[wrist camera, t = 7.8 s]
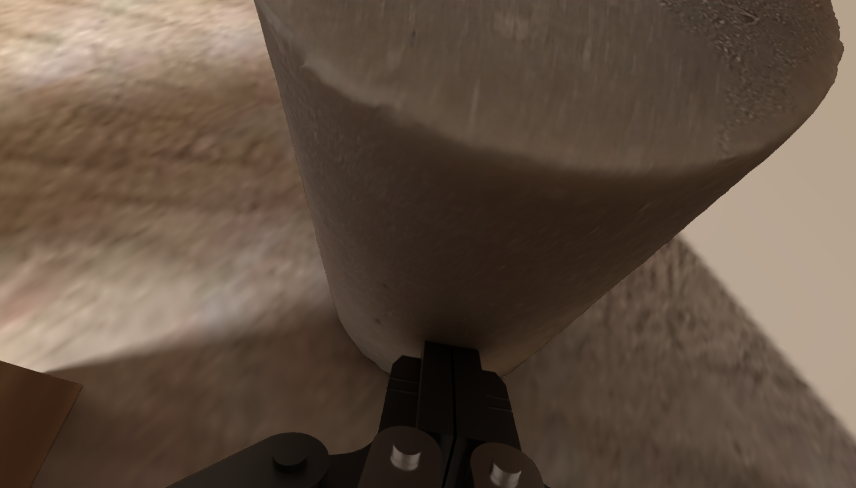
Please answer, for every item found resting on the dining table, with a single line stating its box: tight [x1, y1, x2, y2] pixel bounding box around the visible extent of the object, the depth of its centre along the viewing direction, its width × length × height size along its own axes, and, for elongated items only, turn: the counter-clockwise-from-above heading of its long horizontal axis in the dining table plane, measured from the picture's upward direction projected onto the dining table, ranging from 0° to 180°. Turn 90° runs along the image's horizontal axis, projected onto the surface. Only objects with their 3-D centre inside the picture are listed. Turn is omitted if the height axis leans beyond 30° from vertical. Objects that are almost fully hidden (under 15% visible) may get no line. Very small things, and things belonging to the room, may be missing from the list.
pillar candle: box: [254, 0, 844, 377], centre depth 12 cm, size 10×10×15 cm
